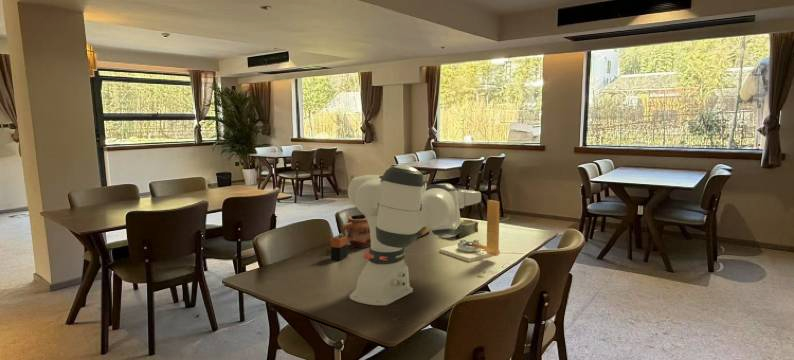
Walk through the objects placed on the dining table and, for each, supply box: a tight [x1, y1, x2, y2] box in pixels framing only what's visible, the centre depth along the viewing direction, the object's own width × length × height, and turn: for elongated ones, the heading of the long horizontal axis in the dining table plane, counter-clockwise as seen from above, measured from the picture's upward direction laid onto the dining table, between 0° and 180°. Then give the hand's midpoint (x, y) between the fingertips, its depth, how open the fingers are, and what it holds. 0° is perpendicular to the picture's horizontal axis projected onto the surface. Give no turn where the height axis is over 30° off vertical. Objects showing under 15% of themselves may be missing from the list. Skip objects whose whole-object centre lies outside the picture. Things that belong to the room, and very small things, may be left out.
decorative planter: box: [341, 214, 371, 249], centre depth 209 cm, size 20×12×14 cm, turn 141°
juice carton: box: [454, 219, 479, 240], centre depth 230 cm, size 20×10×6 cm, turn 141°
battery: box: [330, 233, 349, 262], centre depth 191 cm, size 4×7×10 cm, turn 155°
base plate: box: [439, 243, 501, 263], centre depth 198 cm, size 18×18×2 cm
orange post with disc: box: [457, 199, 501, 257], centre depth 192 cm, size 20×10×23 cm, turn 36°
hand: (471, 192), depth 177 cm, fingers closed
